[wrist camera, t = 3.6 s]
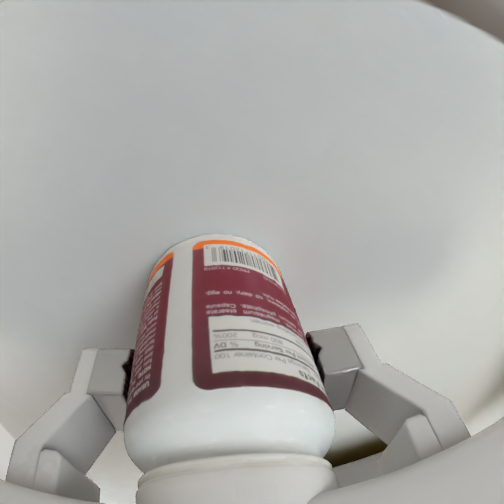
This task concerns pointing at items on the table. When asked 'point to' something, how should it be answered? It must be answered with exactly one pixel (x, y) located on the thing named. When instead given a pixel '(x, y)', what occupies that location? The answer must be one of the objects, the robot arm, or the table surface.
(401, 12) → the table surface
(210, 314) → the pill bottle
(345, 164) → the table surface
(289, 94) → the table surface
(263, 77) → the table surface
